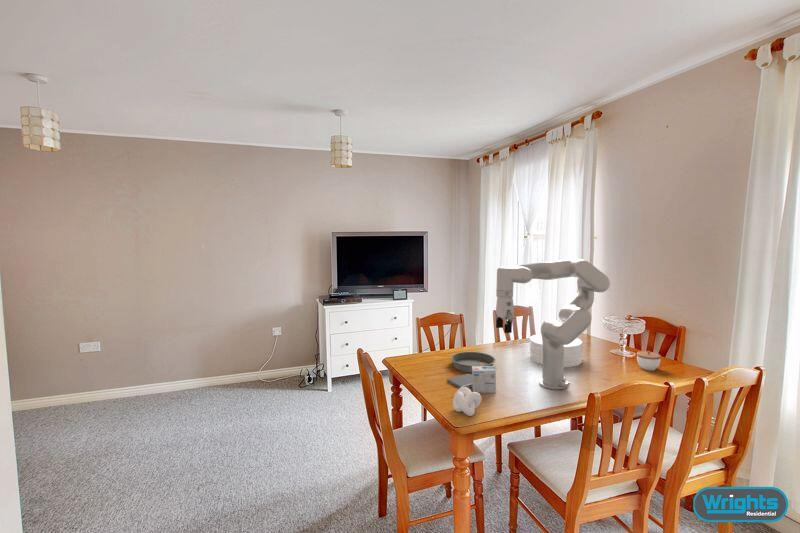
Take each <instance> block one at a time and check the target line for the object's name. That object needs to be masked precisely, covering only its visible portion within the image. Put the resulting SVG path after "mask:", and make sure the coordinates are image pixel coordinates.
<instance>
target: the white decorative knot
mask: <svg viewBox="0 0 800 533" xmlns="http://www.w3.org/2000/svg"><path fill="white" fill-rule="evenodd" d="M452 399H453V400H452V407H453V409H454V410H455V411H456V412H459V413H461V412H463V414H465V415H466V416H469V417H472V416H474V415H475V412H476V408H478V407H479V406H480V405H481V403H482V395H481V393H477V392H473V391H472V390H471V389H470V387H469V388H467V387H461V388H458V389H457V391H455V393H454V396H453V398H452Z"/></svg>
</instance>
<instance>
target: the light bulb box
mask: <svg viewBox="0 0 800 533" xmlns="http://www.w3.org/2000/svg"><path fill="white" fill-rule="evenodd" d="M471 375H472V387H471V388H472V392H477V393H479V394H481V393H483V394H496V393H497V383H496V382H497V381H496V380H497V379H496V378H497V376H496V369H495V366H494V365H493V366H472V372H471Z"/></svg>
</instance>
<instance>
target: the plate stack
mask: <svg viewBox="0 0 800 533" xmlns="http://www.w3.org/2000/svg"><path fill="white" fill-rule="evenodd" d="M529 358H530V360H531V361H533V362H534V363H537V364H539V365H542V360H543V344H542V336H541V333H537V334H534V335H531V336H530V337H529ZM582 358H583V341H582V340H581V339H580V338H578V337H577V338H576V339H575V340H574V341H573V342H571V343H570V344H568V345H564V368H571V367H572V366H573V367H577V366H580V365H581V364H582V363H583V359H582ZM579 364H580V365H579ZM576 365H577V366H576Z"/></svg>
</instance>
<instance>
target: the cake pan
mask: <svg viewBox="0 0 800 533" xmlns="http://www.w3.org/2000/svg"><path fill="white" fill-rule="evenodd" d="M450 361H452V363H453V368H455V369H457V370H459V371H461V372H467V373H472V366H494V363H495V362H496V358H495V357H494V356H493V355H490V354H488V353H485V352H479V351H462V352H457V353H454V354H452V355H451V356H450ZM480 361H483V362H485V363H487V364H481V363H480Z"/></svg>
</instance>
